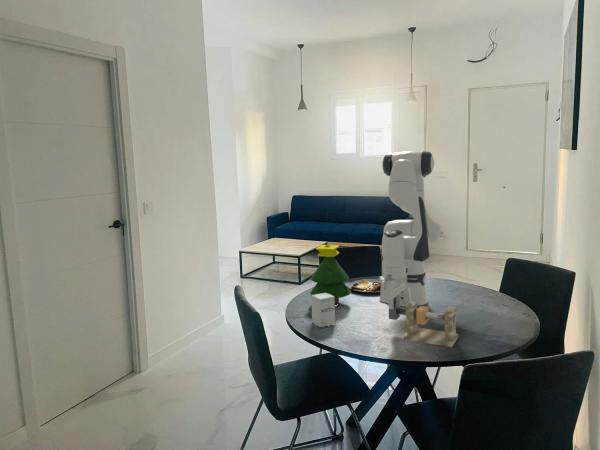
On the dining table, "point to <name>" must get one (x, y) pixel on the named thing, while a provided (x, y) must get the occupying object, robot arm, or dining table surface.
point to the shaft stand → (427, 334)
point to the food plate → (366, 285)
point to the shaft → (397, 311)
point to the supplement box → (323, 309)
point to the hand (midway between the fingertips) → (394, 306)
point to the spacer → (422, 315)
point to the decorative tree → (330, 274)
